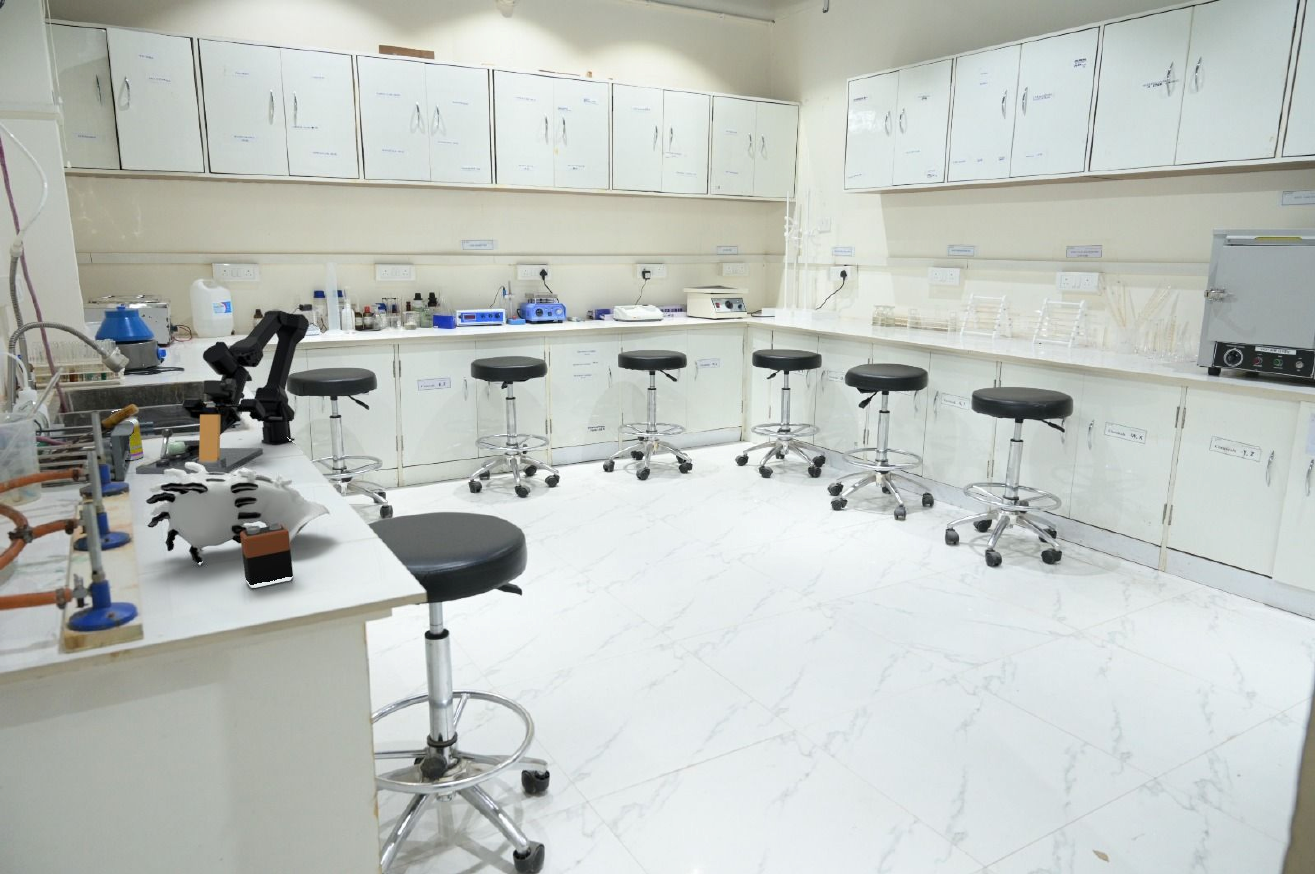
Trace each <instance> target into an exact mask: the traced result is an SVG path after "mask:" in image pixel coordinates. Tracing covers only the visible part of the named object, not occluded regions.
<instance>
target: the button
mask: <svg viewBox="0 0 1315 874" xmlns="http://www.w3.org/2000/svg"><path fill="white" fill-rule="evenodd" d="M176 441H177V442H175V441H171V442H168V447H167V453H168V454H182V453H185V444H184V442H182V441H181V440H176Z"/></svg>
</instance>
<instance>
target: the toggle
mask: <svg viewBox="0 0 1315 874" xmlns="http://www.w3.org/2000/svg"><path fill="white" fill-rule="evenodd" d="M173 432H174V431H173V430H172V429H171V428H167V427H166V428H163V429H162V430H161V435H162V437H163V438H162V445H161V449H160V455H159V457H160V458H161V459H165V458H166V454H167V453H168V443H169V441H170V438H171V437H172V436H173V434H174V433H173Z"/></svg>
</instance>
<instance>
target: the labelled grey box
mask: <svg viewBox="0 0 1315 874" xmlns="http://www.w3.org/2000/svg"><path fill="white" fill-rule="evenodd" d="M177 441H178V440H175V441H174V442H177ZM180 441H182V442H184V444H185V446H191V445H199V441H200V439H190V440H189V439H188V440H187V439H186V440H184V439H183V440H182V439H181V440H180Z"/></svg>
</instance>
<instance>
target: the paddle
mask: <svg viewBox="0 0 1315 874" xmlns="http://www.w3.org/2000/svg"><path fill="white" fill-rule="evenodd" d="M199 440H200V441H199V460H198V461H197V463H198V464H200V465H203V466H204V467H218V463H217V460H218V459H220V448H221V435H220V415H200V419H199Z"/></svg>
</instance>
